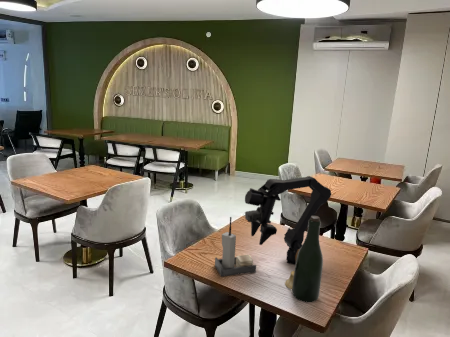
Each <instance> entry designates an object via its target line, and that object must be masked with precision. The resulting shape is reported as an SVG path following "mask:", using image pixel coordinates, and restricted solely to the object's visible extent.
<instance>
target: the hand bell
mask: <svg viewBox="0 0 450 337" xmlns="http://www.w3.org/2000/svg"><path fill="white" fill-rule="evenodd" d="M299 250H300V249H298V251H297V253H296V256H295V261H296V258H297V254H298V252H299ZM293 277H294V270H292V271H291V272H290V275H289V278H288V279H286V280H285V282H284V285H285V287H286V288H288V289H289V290H291V291H292V285H293Z"/></svg>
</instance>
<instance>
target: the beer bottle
mask: <svg viewBox="0 0 450 337" xmlns="http://www.w3.org/2000/svg"><path fill="white" fill-rule="evenodd" d="M321 224H322V221H321V217H319V215H314V216H311V218H310V219H309V222H308V227H307V233H306V235H305V236H306V237H305V238H304V240H303V242H302V246H301V248H300V250H299V252H298V254H297V258H296V264H294V270H293V271H294V277H293V285H292V290H291V294H292V296H293V297H294V298H295V299H296V300H298V301H301V302H304V303H315V302H316V301H317V300H319V297H320V290H321V286H322V284H321V283H322V277H323V276H322V275H323V266H324V265H323V264H324V256H323V251H322V248H321V244H320V228H321Z"/></svg>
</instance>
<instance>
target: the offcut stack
mask: <svg viewBox="0 0 450 337" xmlns="http://www.w3.org/2000/svg"><path fill="white" fill-rule="evenodd" d="M235 257H236V264H235V267H241V266H249V265H254V260H253V258H252V257H251V256H250V254H243V255H236V256H235Z"/></svg>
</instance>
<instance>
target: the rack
mask: <svg viewBox="0 0 450 337" xmlns="http://www.w3.org/2000/svg"><path fill="white" fill-rule="evenodd" d="M236 257H237V256H235V263H234V267H233V268H225V269H223V267H222V258H218V257H217V256H216V257H214V267H215V269H216V271H217V272H218V274H219V276H220V277H228V276H236V275H243V274H250V273H251V274H252V273H256V272H257V265H256V264H253V265H249V266H241V267H236Z"/></svg>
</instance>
